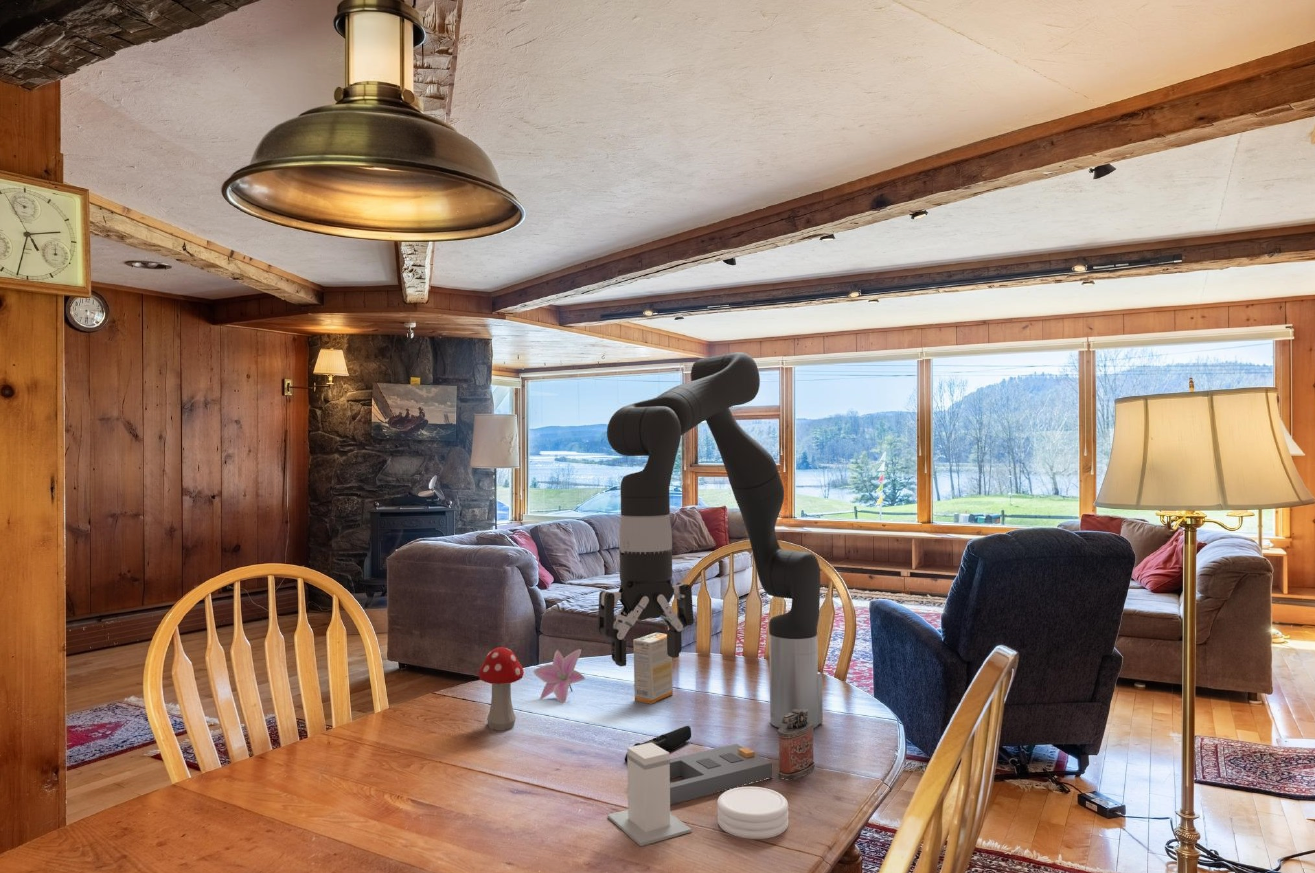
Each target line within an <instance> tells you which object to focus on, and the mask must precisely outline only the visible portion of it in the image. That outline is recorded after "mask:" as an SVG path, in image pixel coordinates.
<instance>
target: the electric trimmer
mask: <svg viewBox="0 0 1315 873" xmlns="http://www.w3.org/2000/svg"><path fill="white" fill-rule="evenodd" d="M691 738H692V729H691V726H690V725H684V726H682V727H680V728H677V729H675V730H672V731H669V732H667V733H664V734H661V735H659V736H657V737H654V738H652V739H649V740H646V741H644V742H642V743H640V742H636V743H635V744H633V746H637V745H642V744H646V743H651V742H652V743H653V744H655V745H657V746H658V747H660V748H662V749H664V750H665V751H667V752H672V751H674V750H675V749H677V748H679V747H680V746H682V745H683V744H685V743H686V742H688V741H690V740H691ZM624 762H625V763H626V764H628V759H627V753H625V757H624Z"/></svg>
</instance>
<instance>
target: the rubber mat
mask: <svg viewBox="0 0 1315 873" xmlns="http://www.w3.org/2000/svg"><path fill="white" fill-rule="evenodd" d="M607 818H608V819H609V820H610V821H611V822H612V823H613V824H615V825H616V826H617V828H619V829H620V830H621V831H622V832H623V833H624V834H626V835H627V836H628V837H629V838H631V839H632V840H633V841H634V842H635V843H636V844H637V845H638V846H639V847H643V846H646V845H650V844H653V843H657V842H661V841H664V840H667V839H668V840H669V839H672V838H675V837H679V836H681V835H684V834H689V833H692V828H691V827H689V826H688V825H687V824H686V823H684V822H683V821H681V820H680V819H679V818H677V817H676V816H675V815H674V814H672V813H671V812H670V825H669V826H665V827H662V828H658V829H655V830H651V831H648V832H645V831H644V830H642V829H641V828H640V827H639V826H637V825H636V824H635V823H633V822H632V821H631V820H630V819H628V809H626V810H622V811H617V812H614V813H610V814H607Z"/></svg>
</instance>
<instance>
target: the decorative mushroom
mask: <svg viewBox="0 0 1315 873" xmlns="http://www.w3.org/2000/svg"><path fill="white" fill-rule="evenodd" d="M524 673H525V672H524V667H523V666H522V664H521V663H520V661H519V659H518V658H517V655H516V654H515V653H514V652H513V651H512V650H511V649H509V648H507V647H502V646H501V647H496V648H494V649H491V650H490V651H489V652H488V654H487V655H486V656H485V659H484V661H483V662H482V664H481V666H480V667H479V670H478V677H479V680H481V681H482V682H484V683H487V684H491V701H490V707H489V713H488V715H487V719H486V720H487V723H488V727H489V728H490V729H491V730H494V729H495V730H496V731H506V730H511V729H512V728H514V726H515V722H516V719H517V718H516V714H515V711H514V709H513V707H514V706H513V703H512V689H511V686H512V685H511V684H513V683H515V682H517V681H520V680H521V679H523V676H524ZM495 730H494V731H495Z"/></svg>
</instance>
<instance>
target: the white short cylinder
mask: <svg viewBox="0 0 1315 873" xmlns="http://www.w3.org/2000/svg"><path fill="white" fill-rule="evenodd" d="M716 804H717V811H716V813H717V818H716V820H717V824H718V826H719V827H720V829H721V830H723V831H724V832H726V833H727V834H729V835H732V836H734V837H737V838H741V839H747V840H763V839H764V840H765V839H771V838H774V837H777V836H779V835H781V834H783V833H784V832H785V831H787V829H788V827H789V818H788V817H789V814H790V813H789V802H788V799H787V798H786V797H785V796H784V795H782V794H781V793H780V792H778V791H775V790H773V789H770V788H765V787H760V786H741V787H737V788H733V789H729V790H725V791H723V793H721V794H720V795H719V797H718V799H717V802H716Z"/></svg>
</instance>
